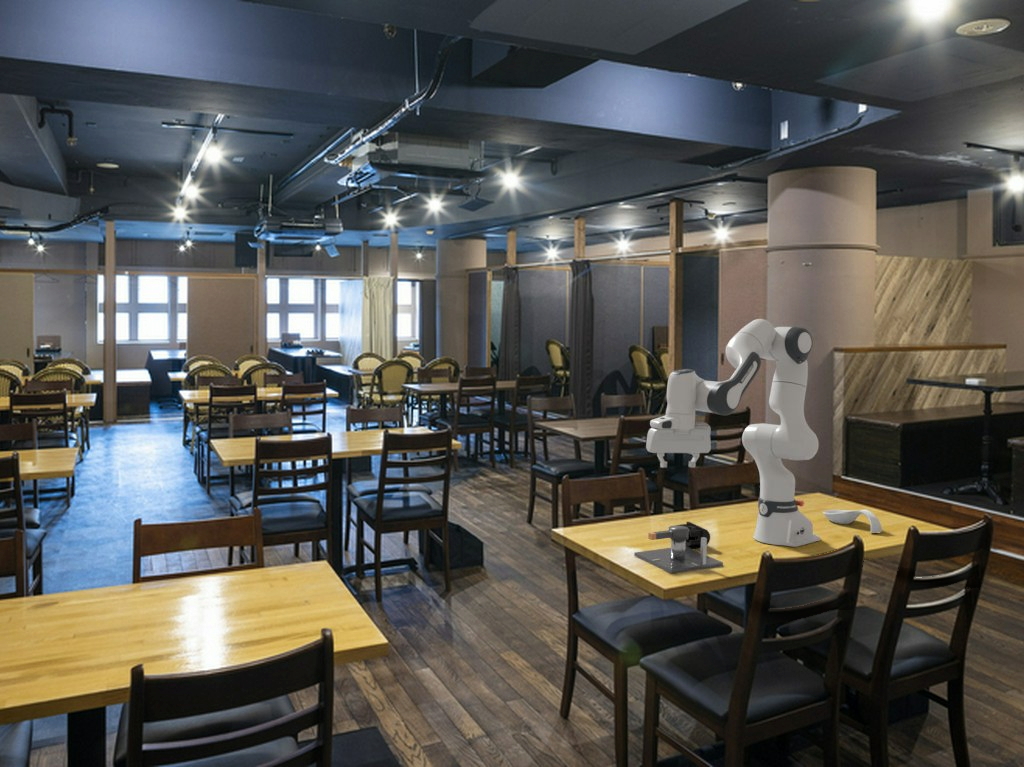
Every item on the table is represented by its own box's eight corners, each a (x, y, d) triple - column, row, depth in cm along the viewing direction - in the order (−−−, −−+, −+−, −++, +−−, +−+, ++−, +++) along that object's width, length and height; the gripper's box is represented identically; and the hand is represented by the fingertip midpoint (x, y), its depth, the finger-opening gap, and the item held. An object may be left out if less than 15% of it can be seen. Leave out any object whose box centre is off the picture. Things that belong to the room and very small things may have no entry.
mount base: (683, 548, 258) (684, 521, 258) (722, 565, 241) (723, 536, 240) (634, 555, 250) (635, 527, 249) (671, 573, 233) (672, 543, 232)
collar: (680, 534, 249) (680, 524, 249) (692, 539, 244) (692, 529, 243) (644, 538, 243) (644, 529, 243) (655, 543, 238) (656, 534, 238)
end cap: (710, 548, 259) (710, 528, 259) (691, 550, 257) (691, 529, 257) (693, 540, 269) (694, 520, 268) (675, 542, 267) (675, 522, 266)
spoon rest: (816, 519, 300) (817, 500, 299) (840, 517, 304) (841, 498, 303) (864, 536, 278) (865, 515, 277) (890, 533, 282) (891, 513, 281)
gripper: (705, 421, 249) (703, 465, 250) (645, 420, 244) (643, 465, 245) (715, 423, 243) (713, 468, 244) (653, 423, 238) (651, 469, 239)
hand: (677, 467), depth 245 cm, fingers open, 8 cm apart
